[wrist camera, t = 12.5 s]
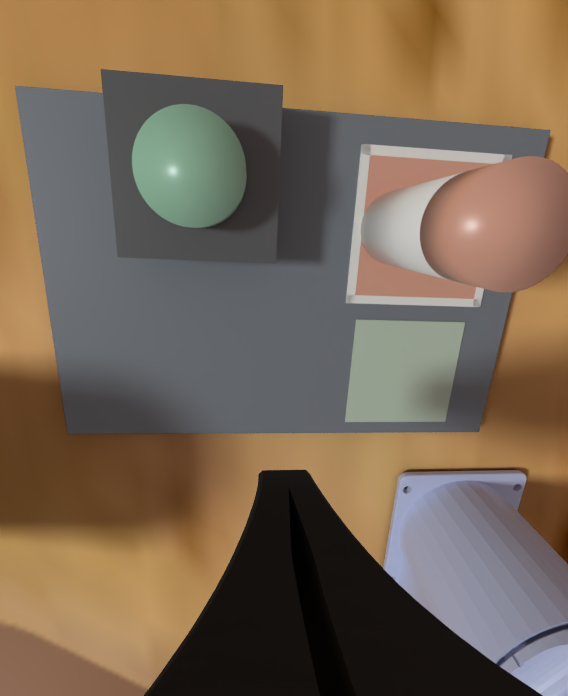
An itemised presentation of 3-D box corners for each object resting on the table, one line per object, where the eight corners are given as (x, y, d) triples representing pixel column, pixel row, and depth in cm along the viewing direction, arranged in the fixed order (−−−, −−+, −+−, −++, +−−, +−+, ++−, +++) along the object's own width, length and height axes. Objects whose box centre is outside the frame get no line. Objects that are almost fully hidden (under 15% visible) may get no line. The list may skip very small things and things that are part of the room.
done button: (245, 230, 14) (245, 230, 12) (147, 225, 13) (136, 224, 12) (247, 121, 13) (247, 108, 11) (140, 112, 12) (127, 99, 11)
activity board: (470, 424, 21) (480, 433, 20) (74, 426, 19) (66, 435, 18) (536, 134, 17) (552, 129, 16) (27, 93, 15) (12, 84, 14)
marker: (422, 266, 17) (558, 295, 10) (356, 262, 17) (445, 289, 9) (434, 193, 16) (597, 161, 9) (365, 187, 16) (471, 150, 8)
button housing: (272, 259, 17) (276, 263, 14) (136, 253, 16) (117, 257, 14) (278, 107, 15) (283, 85, 13) (124, 94, 14) (101, 69, 12)
